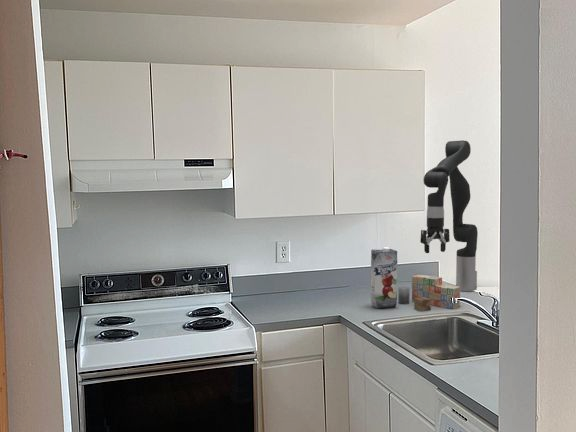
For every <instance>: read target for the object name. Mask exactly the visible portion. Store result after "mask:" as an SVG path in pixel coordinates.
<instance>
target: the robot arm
mask: <svg viewBox="0 0 576 432" xmlns="http://www.w3.org/2000/svg"><path fill="white" fill-rule="evenodd" d="M444 147H445V150H444V152H445V158H443V159H442V160H440V162H439V163H437V165H436V166H434V168H432V169H430V170H428V171H427V172H426V173H425V175H423V184H424V185H425V187H426V188H432V189H433V188H434V189H437V190H436V192H431V193H428V195H427V209H426V228H427V229H426V230H425V229H421V230H420V241H419V242H420V243H421V244H423V245H424V246H423V247H424V253H425V254H430V243H431V242H432V241H433V240H439V242H440V252H442V253H445V251H446V247H447V246H446V244H447V243H449V242H451V241H450V229H449V228H444V227H445V208H444V204H445V203H444V202H445V201H444V198H445V194H446V190H447V186H448V183H449V188H450V189H449V190H450V191H449V192H450V198H451V206H452V233H453V235H452V236H453V239H454V240H455V242H458V243H466V244H465V246H464V247H462V248H458V249H457V250H456V259H455V260H456V266H455V268H456V273H455V283H456V284H455V286H458V287H460V292H474V291H477V290H478V286H477V285H478V284H477V283H478V271H477V270H476V266H477V265H476V262H477V261H476V260H477V256H476V254H477V248H478V235H479V234H478V233H479V232H478V227H477V226H476V224H472V223H463V219H464V218H463V217H464V216H463V215H464V212H465V211H466V209H467V207H468V205H469V203H470V201H471V186H470V184H469V181H468V180H467V179H466V177H465V176H464V175H463V174H462V172H461V171H460V169H459V168H458V166H459V165H461V164H462V163H463V162H465V161H466V160H468V158H469V157H470V155H471V150H472V148H471V144H470V142H469V141H467V140H462V139H461V140H451V141H450V140H449V141H447V142H446V144H445V146H444Z"/></svg>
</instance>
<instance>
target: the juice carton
mask: <svg viewBox="0 0 576 432" xmlns="http://www.w3.org/2000/svg"><path fill="white" fill-rule="evenodd" d="M370 252H371V254H370V299H371V306H373V307H374V308H377V309H378V310H383V309H393V308H396V307H397V304H398V303H397V301H398V251H397V250H396V249H391V248H390V247H387V246H384V247H382V249H378V248H377V249H376V248H375V249H371V250H370Z"/></svg>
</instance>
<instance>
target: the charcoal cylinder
mask: <svg viewBox="0 0 576 432" xmlns="http://www.w3.org/2000/svg"><path fill="white" fill-rule="evenodd" d="M397 301H398V303H397V304H400V305H409V304H410V287H408V286H398V287H397Z"/></svg>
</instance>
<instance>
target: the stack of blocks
mask: <svg viewBox="0 0 576 432" xmlns="http://www.w3.org/2000/svg"><path fill="white" fill-rule="evenodd" d="M460 294H461V291H460V287H458V286H456V285H450V284H445V283H443V277H440V276H435V275H434V276H433V275H425V274H417V275H415V274H414V275H412V276H411V302H412V303H414V298H419V297H425V298H428V299H431V307H438V308H442V309H443V308H444V309H447V310H448V309H450V310H454V309H457V308H460V306H461V304H460V303H461V301H457V303H456V304H453V303H451V300H450V299H451V297H454V298H460V299H461V295H460Z"/></svg>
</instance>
